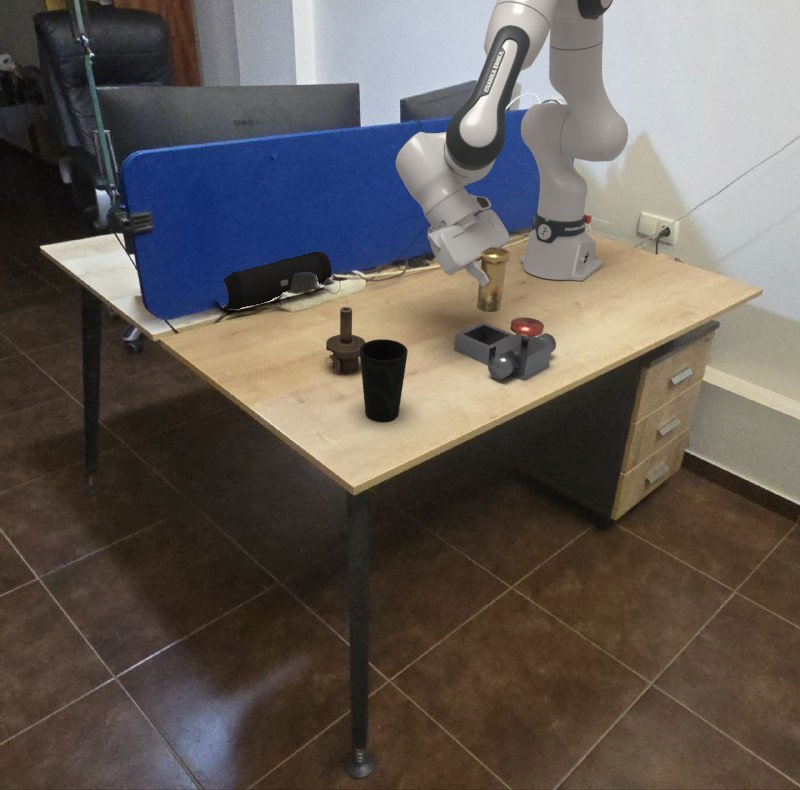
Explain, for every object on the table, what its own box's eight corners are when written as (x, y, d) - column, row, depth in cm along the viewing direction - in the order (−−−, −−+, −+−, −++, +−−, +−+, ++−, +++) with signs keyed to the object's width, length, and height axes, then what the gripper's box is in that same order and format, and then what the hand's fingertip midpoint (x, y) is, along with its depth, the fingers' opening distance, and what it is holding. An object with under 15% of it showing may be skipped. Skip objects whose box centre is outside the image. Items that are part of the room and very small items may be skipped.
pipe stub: (486, 299, 137) (492, 245, 132) (508, 308, 134) (515, 252, 129) (468, 306, 134) (474, 251, 128) (490, 315, 131) (497, 259, 125)
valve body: (492, 332, 146) (497, 291, 142) (560, 360, 137) (567, 318, 132) (441, 355, 137) (444, 313, 132) (510, 388, 127) (516, 343, 122)
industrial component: (335, 381, 127) (335, 321, 120) (318, 364, 132) (317, 305, 126) (381, 370, 131) (382, 310, 125) (362, 354, 136) (363, 296, 130)
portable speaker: (232, 320, 147) (228, 275, 142) (211, 304, 154) (206, 261, 149) (334, 294, 161) (333, 252, 156) (310, 280, 168) (309, 240, 163)
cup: (351, 419, 116) (351, 355, 110) (369, 397, 122) (370, 335, 116) (395, 430, 114) (397, 364, 108) (411, 407, 120) (414, 344, 114)
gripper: (435, 219, 121) (479, 287, 121) (491, 196, 135) (531, 256, 136) (412, 239, 125) (455, 304, 126) (469, 214, 140) (507, 272, 140)
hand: (495, 279), depth 131 cm, fingers closed on pipe stub, 4 cm apart
